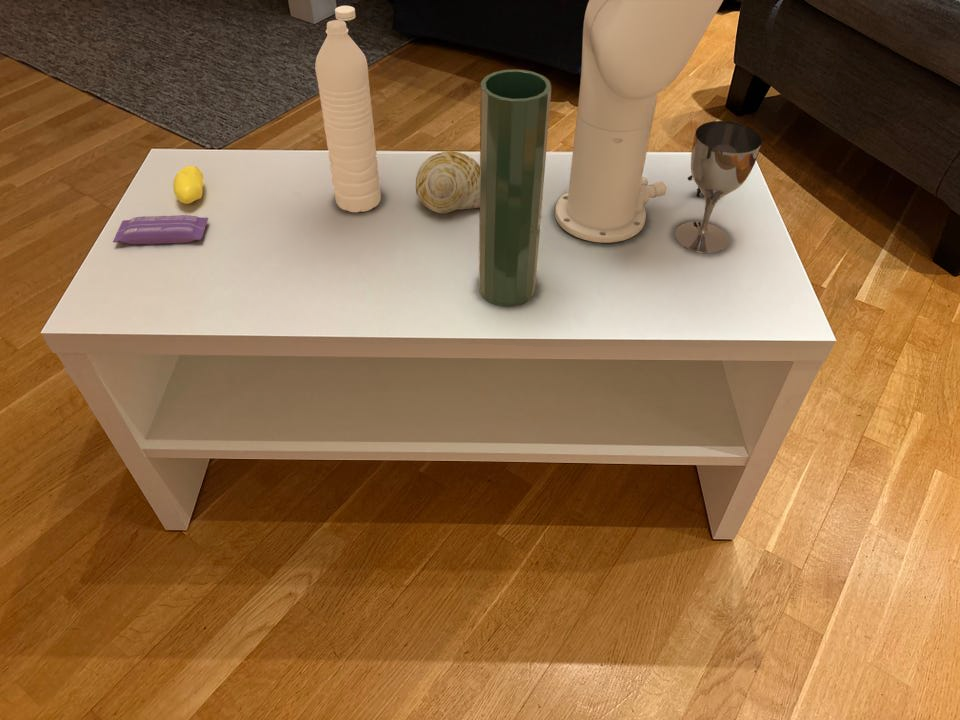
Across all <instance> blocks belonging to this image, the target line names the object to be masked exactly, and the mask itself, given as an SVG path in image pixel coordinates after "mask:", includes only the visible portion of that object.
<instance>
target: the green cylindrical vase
mask: <svg viewBox="0 0 960 720" xmlns="http://www.w3.org/2000/svg"><path fill="white" fill-rule="evenodd" d="M551 96H552V83H551V81H550V80H549V79H548V78H547V77H546V76H544V75H542V74H540V73H537V72H535V71H532V70H527V69H503V70H499V71H494V72H492V73H490V74H487V75H486V76H484V77H483V79H482V80H481V81H480V115H479V117H480V118H479V119H480V120H479V121H480V123H479V124H480V125H479V126H480V127H479V129H480V130H479V145H480V146H479V166H480V207H479V213H478V214H479V219H478V220H479V226H478V228H479V229H478V232H479V233H478V290H479V293H480V295H481V296H482V297H483V299H485V300H486V301H487V302H488V303H491V304H493V305H497V306H500V307H517V306H520V305H522V304H525V303H527V302H528V301H530V299H532V298H533V296H534V294H535V289H536V284H537V273H538V259H539V258H538V257H539V249H540V248H539V247H540V246H539V245H540V234H541V232H540V231H541V222H542V211H543V210H542V209H543V196H544V183H545V171H546V159H547V149H548V148H547V147H548V136H549V135H548V134H549V124H550V123H549V122H550V121H549V120H550V109H551Z"/></svg>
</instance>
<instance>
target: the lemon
mask: <svg viewBox="0 0 960 720" xmlns="http://www.w3.org/2000/svg"><path fill="white" fill-rule="evenodd" d="M172 184H173V185H172V186H173V187H172V188H173V189H172V190H173V194H174V196H175V197H176V199H177V200H178V201H179V203H182V204H185V205H188V204H192V203H193V202H195V201H197V200H200V199H201V198H202V197H203V188H204V186H205V182H204V174H203V172H202V170H201V169H200V168H199V167H197V166H194V165H187V166H184V167H182V168H181V169H180V170H179V171H178V172H177V173H176V175H175V176H174V178H173V183H172Z"/></svg>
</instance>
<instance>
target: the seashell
mask: <svg viewBox="0 0 960 720" xmlns="http://www.w3.org/2000/svg"><path fill="white" fill-rule="evenodd" d="M415 193H416V196H417V198H418V199H419V201H420V203H421V204H422V205H423V206H424V207H425V208H426V209H428V210H430V211H432V212H434V213H437V214H449V213H451V212H454V211H455V210H457V209H458V210H470V209H478V208H480V163H478V162H477V161H476V160H475V159H474V158H473V157H470V156H469V155H467V154H465V153H462V152H459V151H453V150H444V151H441V152H438V153H435V154H433V155H431V156H429V157H428V158H426V160H425V161H423V163H422V164H421V165H420V167H419V169H418V171H417V175H416V178H415Z"/></svg>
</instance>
